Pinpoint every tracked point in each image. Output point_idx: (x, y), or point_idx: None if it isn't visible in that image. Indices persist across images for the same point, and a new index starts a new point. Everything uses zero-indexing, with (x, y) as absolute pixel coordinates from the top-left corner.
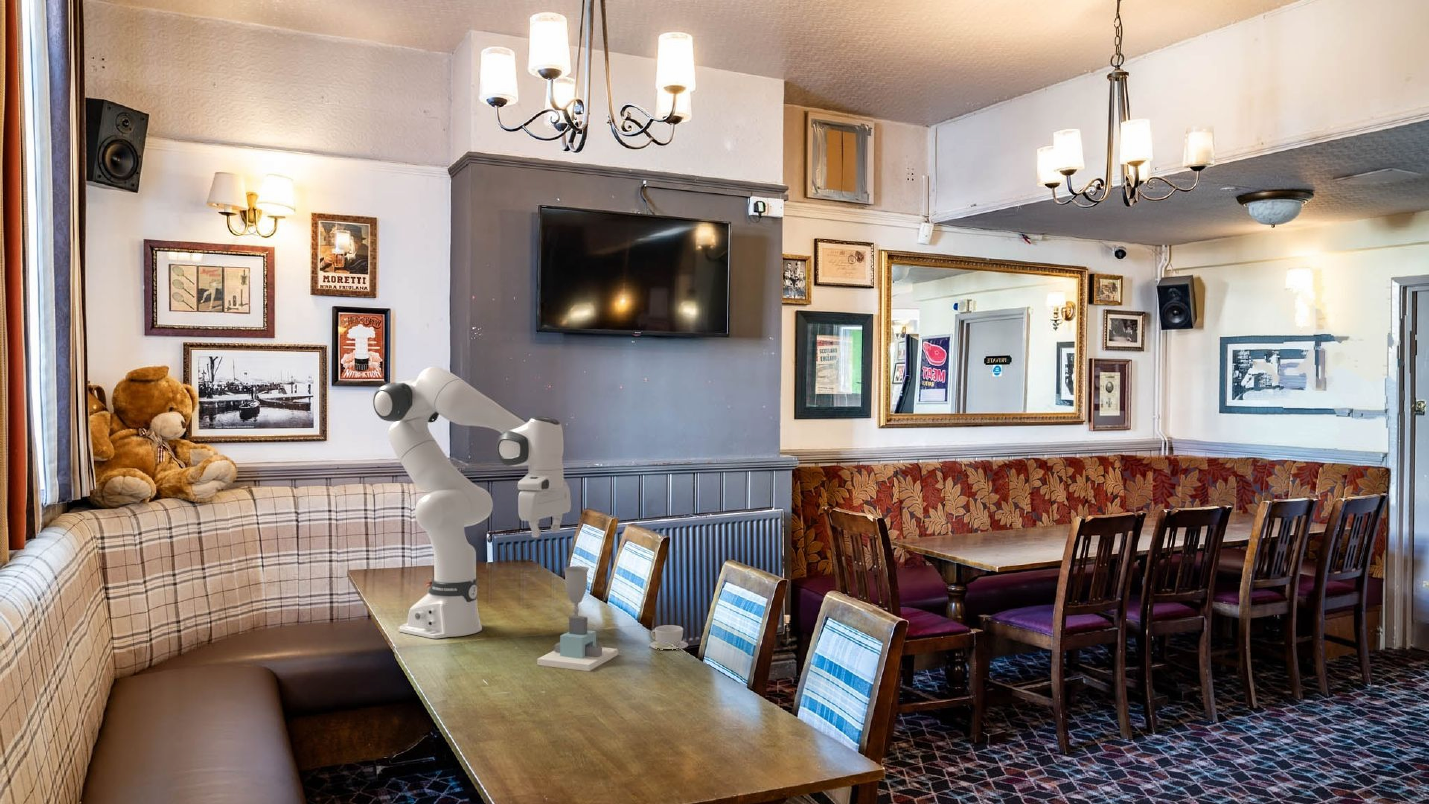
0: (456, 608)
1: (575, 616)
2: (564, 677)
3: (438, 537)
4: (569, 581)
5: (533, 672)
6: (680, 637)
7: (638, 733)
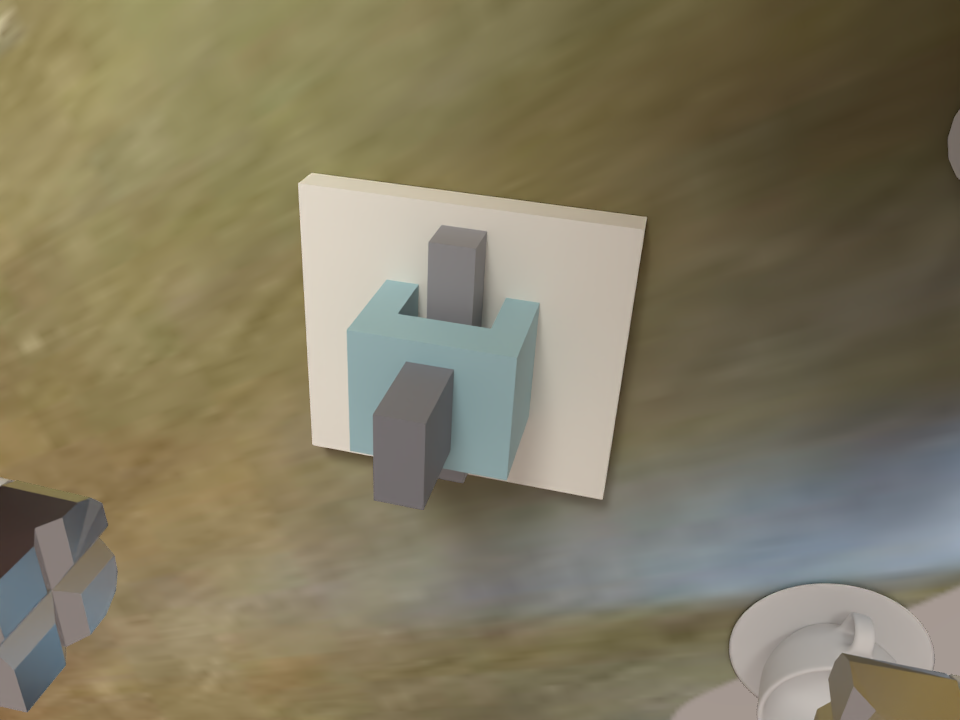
0: None
1: (406, 444)
2: (209, 361)
3: None
4: None
5: (205, 205)
6: None
7: None
